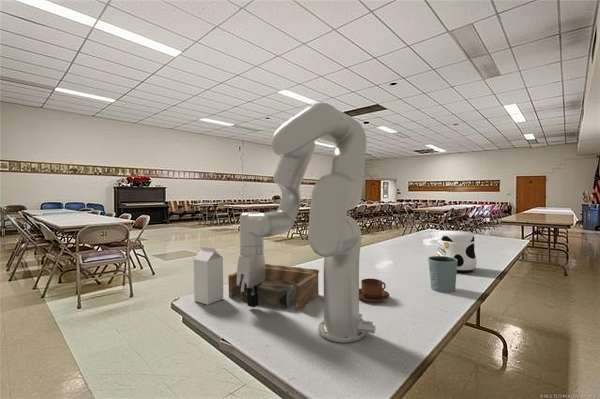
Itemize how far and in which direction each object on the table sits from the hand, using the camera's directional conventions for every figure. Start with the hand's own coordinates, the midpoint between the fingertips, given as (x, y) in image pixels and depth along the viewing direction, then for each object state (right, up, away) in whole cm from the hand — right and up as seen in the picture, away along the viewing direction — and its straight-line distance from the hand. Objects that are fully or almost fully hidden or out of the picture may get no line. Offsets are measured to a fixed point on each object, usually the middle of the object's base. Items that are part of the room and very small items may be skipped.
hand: (252, 305), depth 95 cm
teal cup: (+71, 0, +17) cm, 73 cm away
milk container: (+91, 0, +46) cm, 102 cm away
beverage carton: (+5, -1, +7) cm, 9 cm away
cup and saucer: (+41, -1, +9) cm, 42 cm away
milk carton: (-17, -1, +9) cm, 19 cm away
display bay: (+6, -1, +12) cm, 14 cm away
